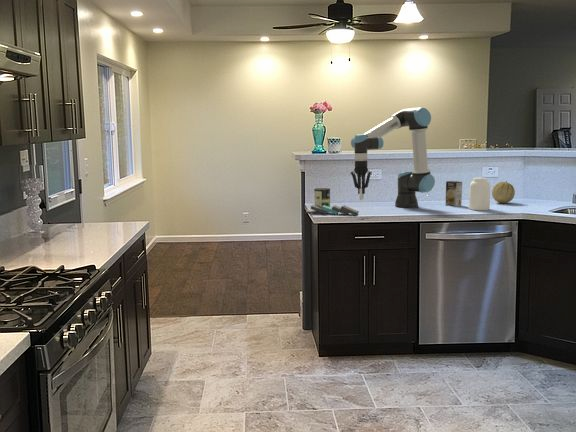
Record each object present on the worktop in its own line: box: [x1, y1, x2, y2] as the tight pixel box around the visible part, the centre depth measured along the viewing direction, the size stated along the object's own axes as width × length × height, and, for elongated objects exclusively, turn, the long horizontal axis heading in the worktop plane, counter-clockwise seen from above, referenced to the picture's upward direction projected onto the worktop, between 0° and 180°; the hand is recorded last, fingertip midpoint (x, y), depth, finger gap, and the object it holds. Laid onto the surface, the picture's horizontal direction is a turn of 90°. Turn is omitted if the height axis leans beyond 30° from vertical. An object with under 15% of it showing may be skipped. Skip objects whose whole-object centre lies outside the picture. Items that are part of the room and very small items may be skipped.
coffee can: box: [313, 187, 331, 207], centre depth 394 cm, size 10×10×14 cm
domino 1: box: [305, 209, 323, 215], centre depth 383 cm, size 2×5×10 cm
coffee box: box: [445, 180, 463, 207], centre depth 409 cm, size 9×6×16 cm
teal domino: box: [322, 205, 340, 216], centre depth 378 cm, size 2×5×10 cm
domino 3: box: [332, 204, 350, 216], centre depth 376 cm, size 2×5×10 cm
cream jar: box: [468, 177, 491, 211], centre depth 387 cm, size 12×12×20 cm
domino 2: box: [309, 204, 328, 215], centre depth 380 cm, size 2×5×10 cm
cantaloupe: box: [491, 180, 516, 204], centre depth 416 cm, size 15×15×15 cm
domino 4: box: [340, 204, 360, 216], centre depth 374 cm, size 2×5×10 cm
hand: (361, 199), depth 370 cm, fingers closed
